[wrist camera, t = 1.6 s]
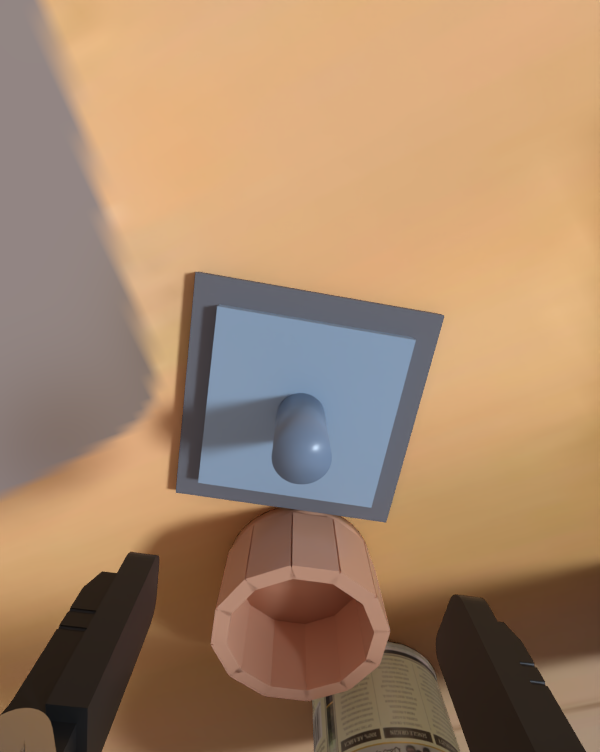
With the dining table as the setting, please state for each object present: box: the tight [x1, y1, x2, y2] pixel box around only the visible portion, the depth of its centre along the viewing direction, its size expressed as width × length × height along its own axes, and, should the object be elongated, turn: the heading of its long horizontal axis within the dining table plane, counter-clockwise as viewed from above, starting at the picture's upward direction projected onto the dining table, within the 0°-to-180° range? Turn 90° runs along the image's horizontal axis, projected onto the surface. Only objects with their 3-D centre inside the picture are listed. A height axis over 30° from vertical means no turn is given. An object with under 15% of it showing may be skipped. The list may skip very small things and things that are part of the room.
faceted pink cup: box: [211, 508, 390, 701], centre depth 25 cm, size 10×10×6 cm
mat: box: [176, 272, 444, 522], centre depth 24 cm, size 14×14×1 cm
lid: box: [198, 304, 416, 508], centre depth 21 cm, size 11×11×6 cm
